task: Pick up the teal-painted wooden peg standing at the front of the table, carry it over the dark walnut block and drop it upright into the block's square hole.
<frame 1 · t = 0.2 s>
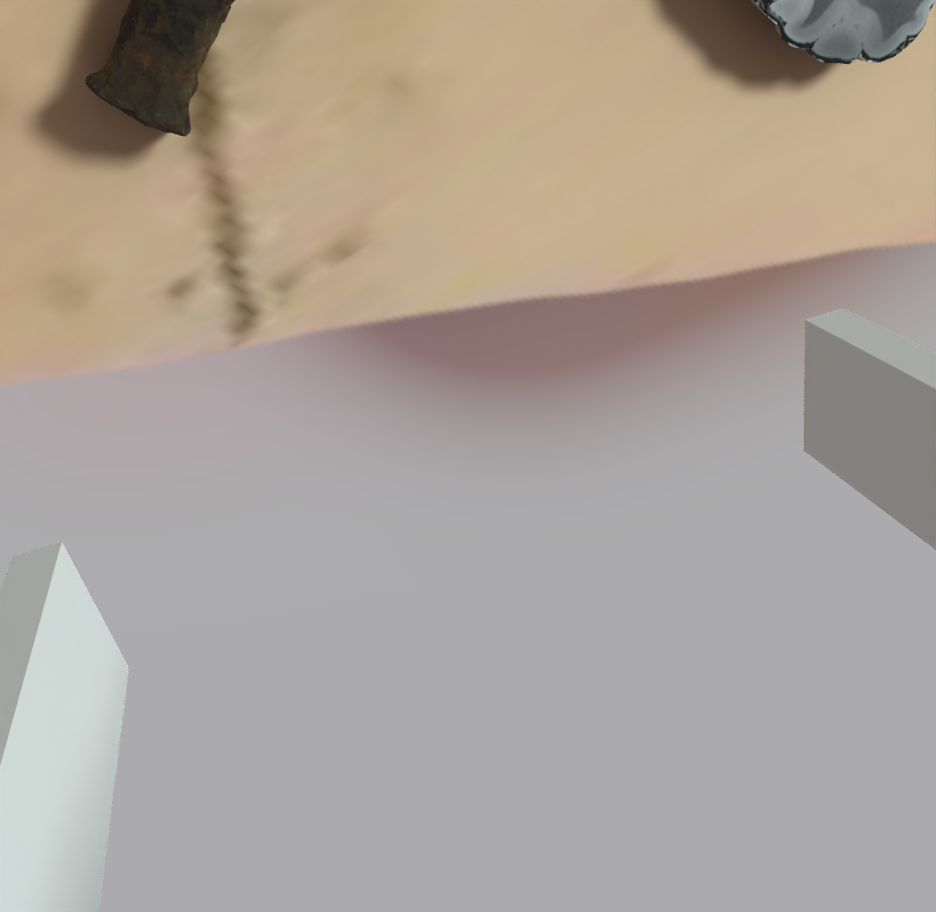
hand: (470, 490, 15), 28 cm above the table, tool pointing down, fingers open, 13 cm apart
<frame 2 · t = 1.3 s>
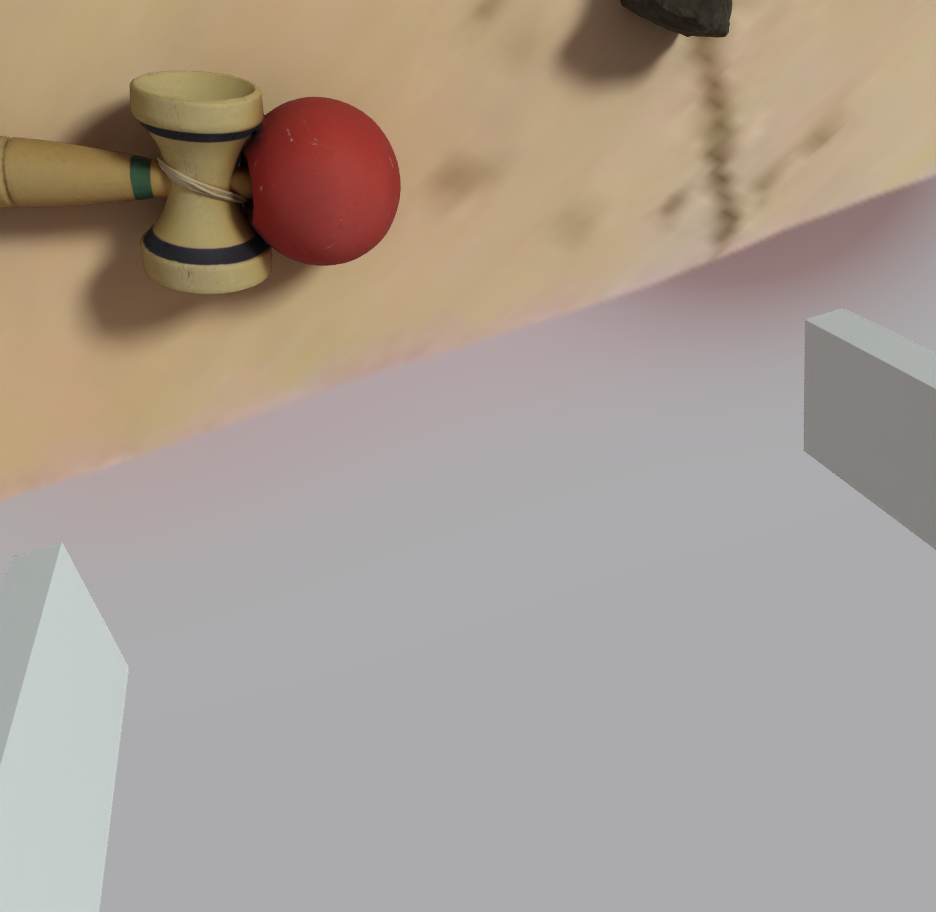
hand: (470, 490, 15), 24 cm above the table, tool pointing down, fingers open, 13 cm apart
kendama: (153, 169, 33), on the table
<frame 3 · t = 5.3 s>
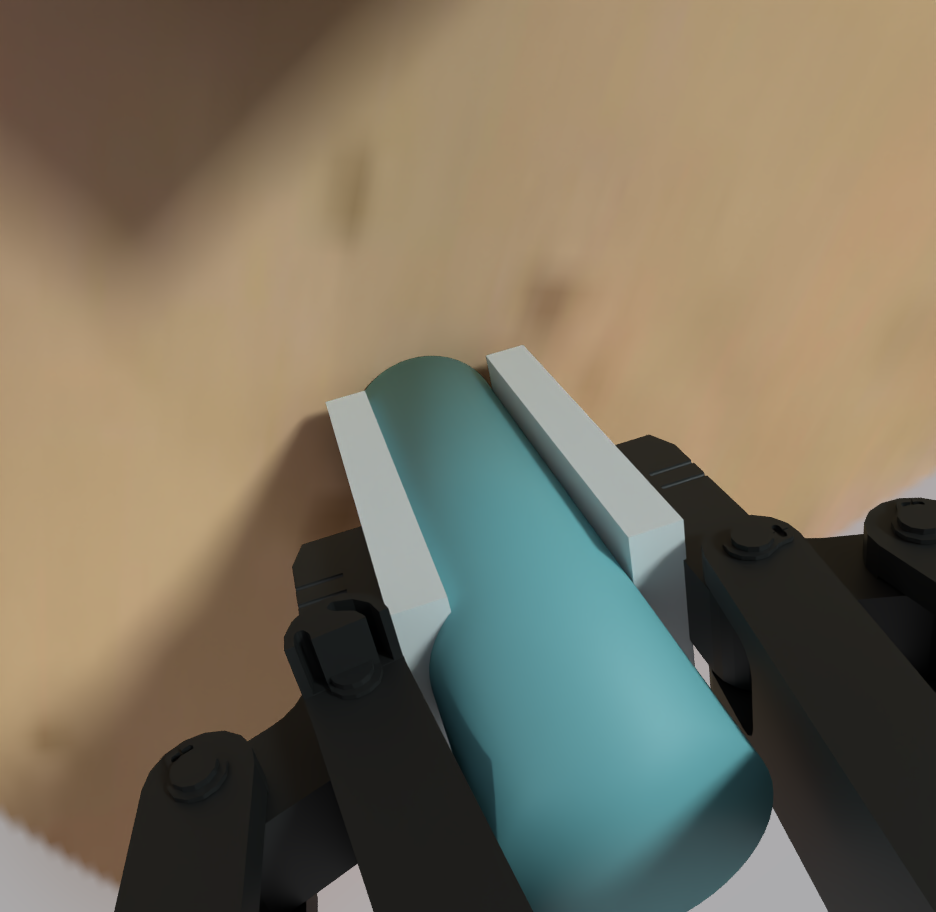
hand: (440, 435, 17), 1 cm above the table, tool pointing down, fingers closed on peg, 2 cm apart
peg: (426, 426, 17), on the table, touching gripper
when the fingers open (7 cm above the table, at t = 10.0 s): peg drops 4 cm, on the table.
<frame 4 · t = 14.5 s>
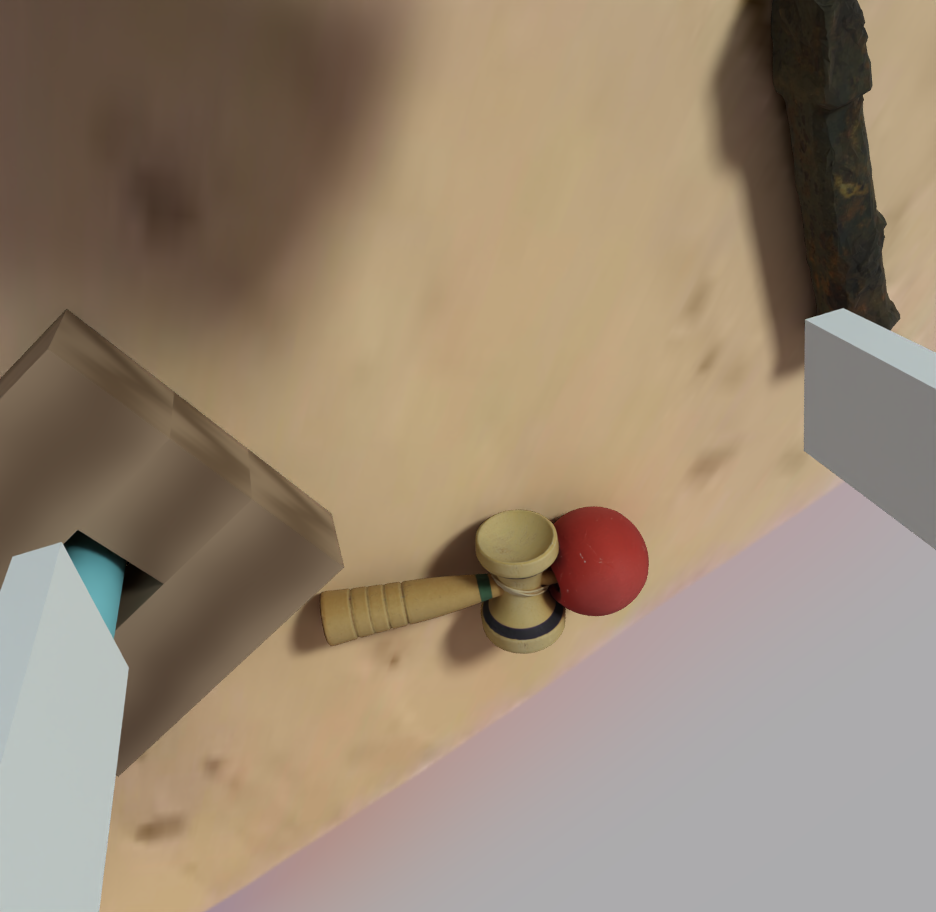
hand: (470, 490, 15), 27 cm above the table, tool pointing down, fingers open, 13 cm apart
hole block: (100, 531, 42), on the table
peg: (98, 532, 42), on the table
kendama: (473, 560, 50), on the table
hand tool: (794, 164, 44), on the table
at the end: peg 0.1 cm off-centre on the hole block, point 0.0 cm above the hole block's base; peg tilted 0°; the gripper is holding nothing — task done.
